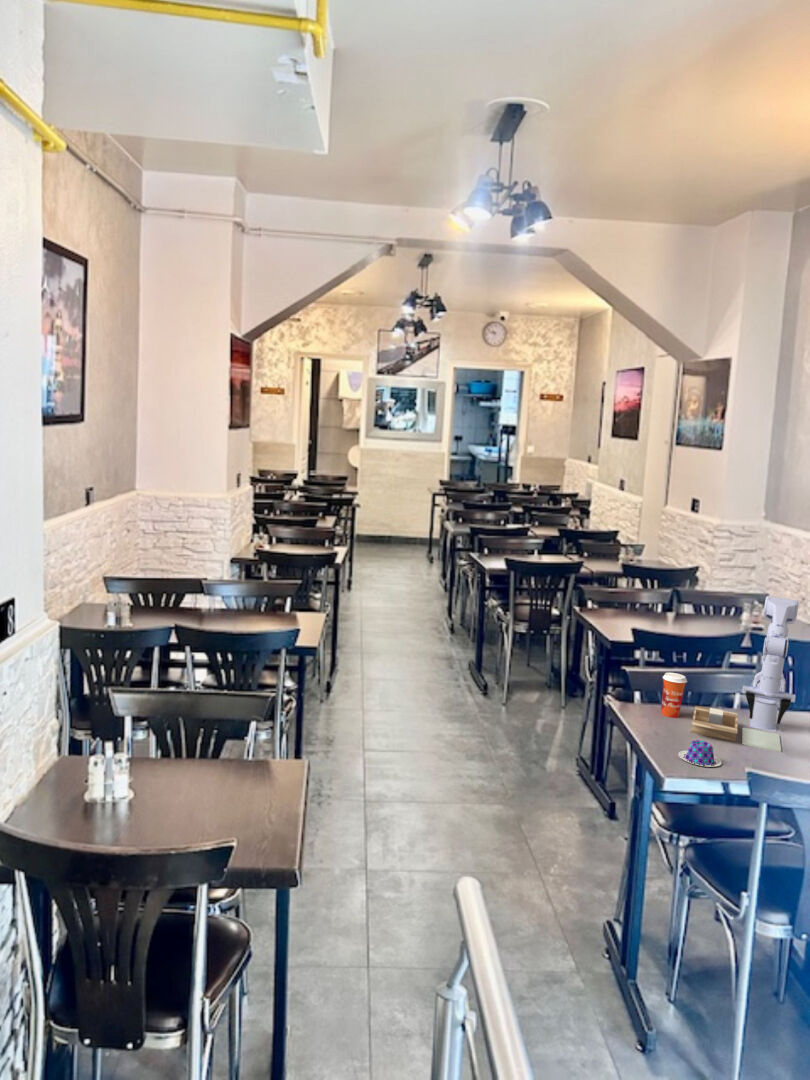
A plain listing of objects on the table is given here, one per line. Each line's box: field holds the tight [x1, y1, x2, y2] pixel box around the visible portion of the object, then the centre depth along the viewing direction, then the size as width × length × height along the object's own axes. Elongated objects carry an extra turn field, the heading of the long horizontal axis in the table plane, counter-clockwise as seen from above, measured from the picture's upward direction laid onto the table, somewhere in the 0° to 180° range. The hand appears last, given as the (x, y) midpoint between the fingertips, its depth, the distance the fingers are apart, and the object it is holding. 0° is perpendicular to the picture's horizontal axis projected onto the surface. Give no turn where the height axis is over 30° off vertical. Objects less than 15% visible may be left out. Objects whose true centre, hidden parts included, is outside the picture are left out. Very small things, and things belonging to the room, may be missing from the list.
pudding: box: [677, 739, 723, 768], centre depth 249 cm, size 12×12×5 cm
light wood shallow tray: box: [690, 705, 739, 742], centre depth 275 cm, size 21×13×4 cm, turn 159°
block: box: [708, 707, 724, 725], centre depth 275 cm, size 8×4×6 cm, turn 159°
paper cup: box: [660, 672, 688, 719], centre depth 287 cm, size 8×8×14 cm
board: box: [741, 727, 782, 753], centre depth 270 cm, size 16×11×1 cm
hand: (764, 720), depth 259 cm, fingers open, 7 cm apart
